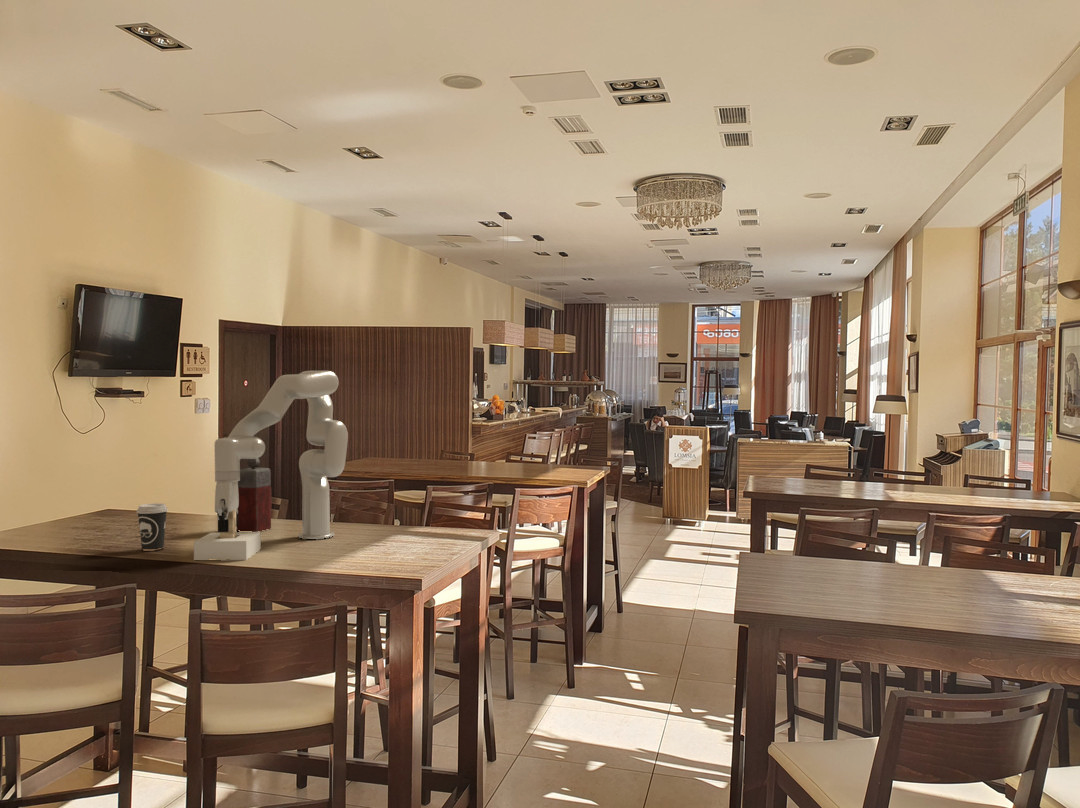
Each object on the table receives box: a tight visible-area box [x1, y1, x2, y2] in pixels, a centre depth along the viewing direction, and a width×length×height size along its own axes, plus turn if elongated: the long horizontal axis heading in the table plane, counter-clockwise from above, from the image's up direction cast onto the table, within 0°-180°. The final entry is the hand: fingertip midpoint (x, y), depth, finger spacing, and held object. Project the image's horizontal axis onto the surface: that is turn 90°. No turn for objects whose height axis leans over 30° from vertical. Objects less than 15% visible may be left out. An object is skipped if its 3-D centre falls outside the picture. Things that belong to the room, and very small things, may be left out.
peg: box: [220, 509, 237, 539], centre depth 255 cm, size 4×4×15 cm
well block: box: [193, 531, 262, 561], centre depth 255 cm, size 16×16×6 cm
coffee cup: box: [135, 503, 169, 550], centre depth 263 cm, size 10×10×15 cm
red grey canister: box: [236, 457, 272, 532], centre depth 300 cm, size 9×11×28 cm
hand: (228, 529), depth 254 cm, fingers open, 9 cm apart
